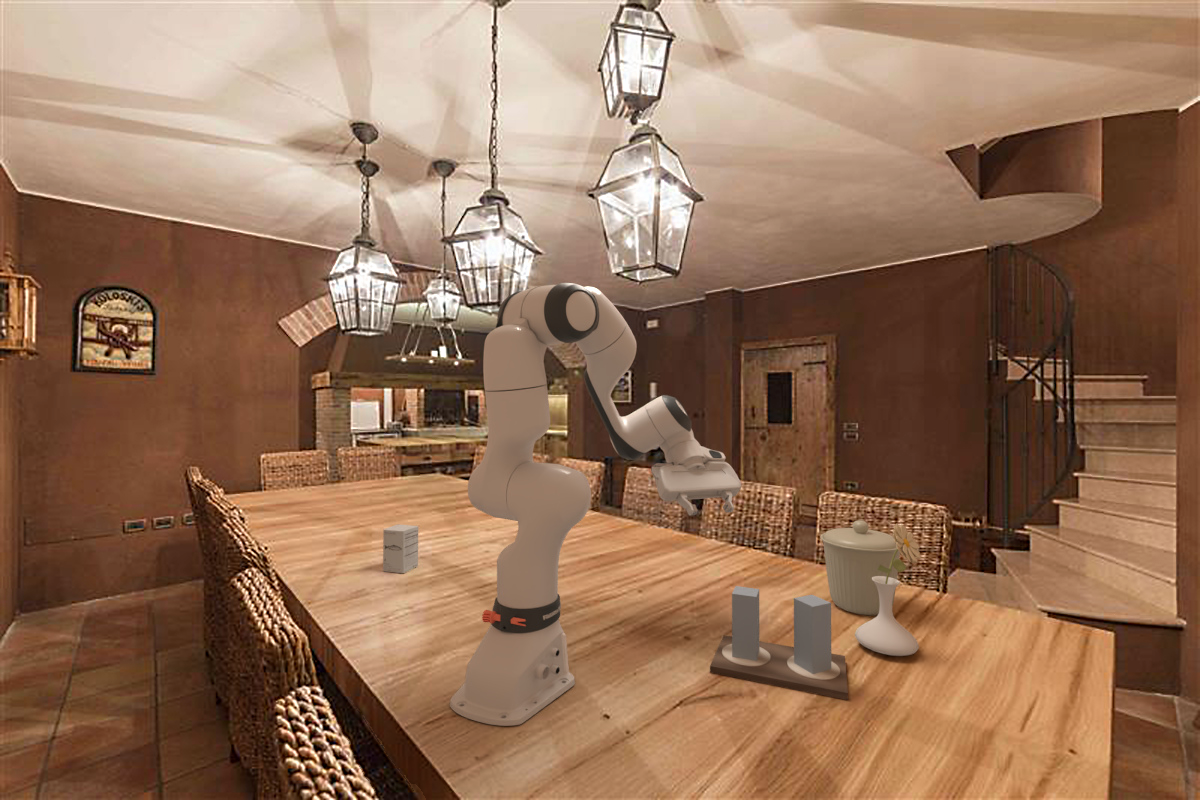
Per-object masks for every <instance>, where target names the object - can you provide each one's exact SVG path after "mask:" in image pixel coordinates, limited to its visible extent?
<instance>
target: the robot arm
mask: <svg viewBox="0 0 1200 800" xmlns="http://www.w3.org/2000/svg"><path fill="white" fill-rule="evenodd" d="M496 317H497V318H496V325H495V328H494V329H493V330H491V331H489V333H488V334H487V336H486V337H485V340H484V345H483V358H482V359H483V361H482V362H483V364H482V365H483V366H482V367H483V384H484V385H483V387H484V394H485V395H484V396H485V403H486V404H485V405H486V416H487V417H486V418H487V430H488V431H487V440H486V441H487V442H486V448H485V452H484V454H483V456H482V457H483V458H482V460H481V461H480V463H479V464H478V465H477V466H476V467H475V468H474V469H473V471H472V472H471V474H470V476H469V478H468V483H467V496H468V499H469V501H470V504H471V505H472V506H473V507H474V508H475V509H476V510H478V511H481V512H482V513H484V514H486V515H487V516H491V517H493V518H497V519H503V520H509V521H514V522H517V527H518V528H517V534H516V538H515V540H514V541H513V542H511V543H510V544H508V545H507V546H505V547H504V548H503V549H502V550H501V551H500V552H499V554H498V557H497V560H496V597H495V599H494V603H493V606H492V609H491V610H489V609H485V610H484V611H483V613H482V615H481V621H482V622H483V623H490V626H489V628H488V629H487V631H486V633H485V634H484V636H483V638H482V639H481V641H480V643H479V645H478V646H477V648H476V649H475V651H474V653H473V655H472V656H471V658H470V659H469V662H468V663H467V666H466V672H465V680H464V681H465V682H464V683H463V684H462V685H461V686H460V687H459V689H458V690H457V691H456V692H455V693H454V694H453V695H452V696H451V698H450V699H449V700H450V701H449V707H450V709H452V710H453V711H454V712H455V713H456V714H457V715H459V716H462V717H464V718H466V719H468V720H473V721H475V722H478V723H483V724H487V725H491V726H492V725H493V726H501V727H502V726H503V727H504V726H505V727H507V726H509V727H510V726H519V725H522V724H523V723H525V722H526V721H527V720H529V719H530V718H532V717H533V716H534V715H536V714H537V713H538V712H540V711H541V710H542V709H544V708H545V707H546V706H548V705H550V704H551V703H552V702H553V701H554V700H556V699H557V698H559V697H560V696H562V695H563V694H564V693H565V692H566V691H569V690H570V689H571V688H572V687H573V686H575V684H576V681H575V679H576V678H575V676H574V675H573V673H572V672H570V668H569V656H568V644H567V635H566V633H565V632H564V629H563V627H562V625H561V622H560V620H559V619H560V618H561V617H560V616H561V608H562V604H561V603H562V602H561V596H560V594H559V593H558V592H559V588H558V587H559V586H558V585H559V562H560V554H561V550H562V546H563V543H564V541H565V539H566V536H567V535H568V533H569V532H570V531H571V530H572V529H573V528H574V527H575V526H576V525H578V524H579V523H580V522H581V521H582V520H583V519H584V517H585V516H586V515H587V513H588V511H589V509H590V506H591V503H592V502H591V501H592V489H591V486H590V483H589V480H588V478H587V476H586V475H585V474H584V473H583V472H582V471H580V470H577V469H575V468H573V467H569V466H566V465H563V464H559V463H550V462H549V463H548V462H537V461H534V447H535V444H536V442H537V441H538V440H539V439H541V438H542V437H543V436H545V434H546V433H547V432H548V430H550V429H549V428H550V426H551V422H552V421H551V413H550V412H551V411H550V402H549V401H550V400H549V393H548V385H547V384H548V383H547V376H546V375H547V374H546V370H545V369H546V368H545V363H544V359H545V354H546V351H547V348H548V347H549V346H550V347H551V346H559V345H564V344H573V343H575V345H576V346H577V348H578V349H579V350H580V351H581V353H582V355H583V356H584V359H585V361H586V368H585V370H584V371H583V380H584V384H585V386H586V389H587V392H588V395H590V396H589V397H590V398H591V400H592V403H593V405H594V407H595V409H596V411H597V412H598V415H599V417H600V419H601V421H602V423H603V425H604V427H605V429H606V431H607V432H608V435H609V440H610V442H611V444H612V447H613V449H614V451H615V452H616V453H617V455H619V457H620V458H622V459H626V460H631V461H636V460H639V459H640V458H641V457H642V456H644V455H646V454H648V452H649V451H651V450H653V449H655V448H656V447H658V446H659V448H660V449H661V450H662V452H663V453H664V458H665V462H664V463H661V462H656V463H654V465H651V468H650V472H651V475H652V478H654V481H655V486H656V490H657V493H658V496H659V498H660V499H661V500H663V501H664V502H671V501H673V502H674V501H676V502H677V503H678V505H680V506H681V507H682V508H683V509H684V510H686V512H687V515H688V516H696V515H697V514H698V511H699V510H698V508H697V505H696V504H693V503H691V502H690V501H689V500H700V499H703V500H705V499H717V498H718V499H719V498H721V499H722V501H725V502H724V504H723V505H722V508H723V510H724V512H725V513H727V514H728V513H733V511H734V510H735V505H734V504H733V503H732V502H733V498H734V497H735V496H737V495H738V493H739V492H740V490H741V489H742V482H741V480H740V478H739V476H738V474H737V473H736V471H735V470H734V468H733V467H732V466H731V464H729V463H728V462H727V461H725V460H726V458H727V457H726V456H725V454H724V452H722V451H719V450H713V449H710V448H707V447H705V446H704V445H703V446H701V444H700V442H699V441H698V440H697V439H696V438H695V435H694V431H693V429H692V426H693V425H692V423H693V421H692V420H691V419H690V416H689V415H688V412H687V411H686V408H685V406H684V405H683V404H682V402H681V401H680V399H679V398H677V397H674V396H671V395H668V394H662V395H661V396H658V397H657V398H654V399H652V400H651V401H649V402H648V403H646V404H645V405H643V406H641V407H639V408H638V409H636V410H635V411H633V412H632V413H630V414H628V415H625V416H621V415H620V413H619V411H618V410H617V407H616V405H615V403H614V400H613V398H612V392H613V390H614V389H615V387H616V385H617V384H618V382H619V381H620V380H621V379H622V378H623V377H624V376H625V374H626V373H627V372H628V371H629V369H630V368H631V366H632V364H633V362H634V360H635V357H636V354H637V340H636V337H635V335H634V334H633V332H632V329H631V328H630V326H629V325H628V322H627V321H626V320H625V318H624V316H623V315H622V314H621V312H619V310H618V309H617V307H616V306H615V305H614V304H613V302H612V301H610V300H609V298H608V297H607V296H606V295H605V294H604V293H603V292H602V291H601V290H600V289H598V288H596V287H594V286H582V285H580V284H577V283H572V282H571V283H570V282H561V283H558V284H549V285H542V284H541V285H537V286H533V287H530V288H526V289H524V290H518V291H516V292H513V293H512V294H510V295H508V296H507V297H506V298H505V299H504V300H502V303H501V304H500V305H499V309H498V311H497V316H496Z"/></svg>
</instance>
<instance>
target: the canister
mask: <svg viewBox="0 0 1200 800" xmlns="http://www.w3.org/2000/svg"><path fill="white" fill-rule="evenodd" d="M869 527H870V525H869V523H868V522H866V521H865V520H860V519H858V520H855V521H853V522H852V527H838V528H833V529H829V530H827V531H826V532H823V533H821V535H820V536H819V538H820V540H821V541H822V542H823V549H824V550H823V551H824V552H823V553H824V559H825V569H826V576H827V583H828V590H829V594H830V595H829V596H830V598H831V599H832V602H833V603H834V604H835V606H837V607H838V608H840V609H841V610H844V611H847V612H849V613H851V614H852V613H853V614H857V615H861V616H862V615H863V616H878V614H879V610H880V599H879V593H878V589H877V586H876V584H875V583H874V581H873V580H872V577H875V576H885V577H887V573H886V572H882V571H879V570H878V567H879V566H880V565H882V566H884V567H886V568H888V569H889V567H890V564H891V561H892V557H893V555H894V553H895V551H896V549H897V547H896V546H897V544H895V542H894V538H893V535H891V534H888V533H886V532H882V531H878V530H873V529H870V528H869ZM900 557H901V553H900V551H897V553H896V555H895V557H894V560H895V559H899V560H900ZM893 562H894V561H893ZM891 570H892V571H891V572H890V573H889V577H891V578H894V579H897V580H898V573H899V572H898V571H897V570H896V569H895V568H894V567H893V565H892V567H891ZM896 589H897V588H896ZM896 589H895V591H894V594H893V600H892V607H893V605H894V601H895V597H896V596H895V595H896Z"/></svg>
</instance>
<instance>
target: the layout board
mask: <svg viewBox="0 0 1200 800" xmlns="http://www.w3.org/2000/svg"><path fill="white" fill-rule="evenodd" d="M709 673H712V674H716V675H721V676H725V677H731V678H736V679H740V680H746V681H751V682H756V683H759V684H767V685H771V686H776V687H780V688H786V689H790V690H796V691H800V692H805V693H810V694H811V693H812V694H816V695H821V696H825V697H830V698H834V699H839V700H844V701H845V700H846V701H849V695H848V694H849V691H848V689H849V688H848V677H847V665H846V655H844V654H836V653H832V652H831V669H830V670H826V671H823V672H819V673H816V674H812V673H810V672H808V671H807V670H805V669H803V668H802V667H800V666H798V665H797V664H795V663H794V646H790V645H784V644H779V643H773V642H766V641H761V640H759V654H758V658H757V661H753V660H747V659H742V658H736V657H732V635H726V634H723V635H722V638H721V640H720V642H719V644H718V647H717V648H716V651H715V654H714V657H713V658H712V660H711V663H710V665H709Z"/></svg>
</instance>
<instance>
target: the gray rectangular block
mask: <svg viewBox="0 0 1200 800" xmlns="http://www.w3.org/2000/svg"><path fill="white" fill-rule="evenodd" d="M793 647H794V663H795V664H797V665H798V666H800V667H802V668H803V669H805V670H807V671H808V672H810V673H812V674H816V673H819V672H823V671H826V670H830V669H831V653H832V603H831V602H830V601H828V600H825V599H824V598H821V597H818V596H817V595H814V594H809V595H808V594H807V595H802V596H797V597H794V598H793Z"/></svg>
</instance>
